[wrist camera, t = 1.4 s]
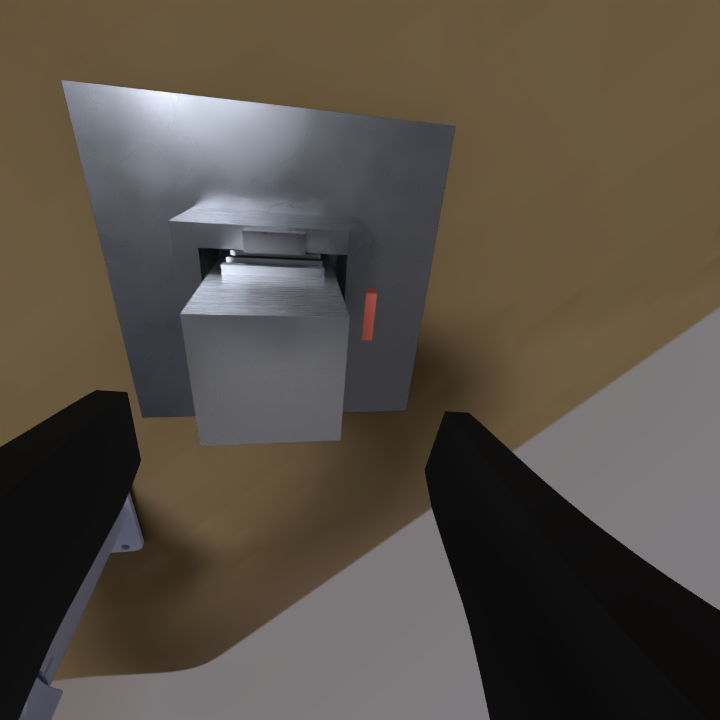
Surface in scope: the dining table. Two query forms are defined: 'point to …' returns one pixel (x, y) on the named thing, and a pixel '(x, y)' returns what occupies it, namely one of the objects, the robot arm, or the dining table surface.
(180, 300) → the stand base
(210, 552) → the dining table surface
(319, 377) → the stand column
